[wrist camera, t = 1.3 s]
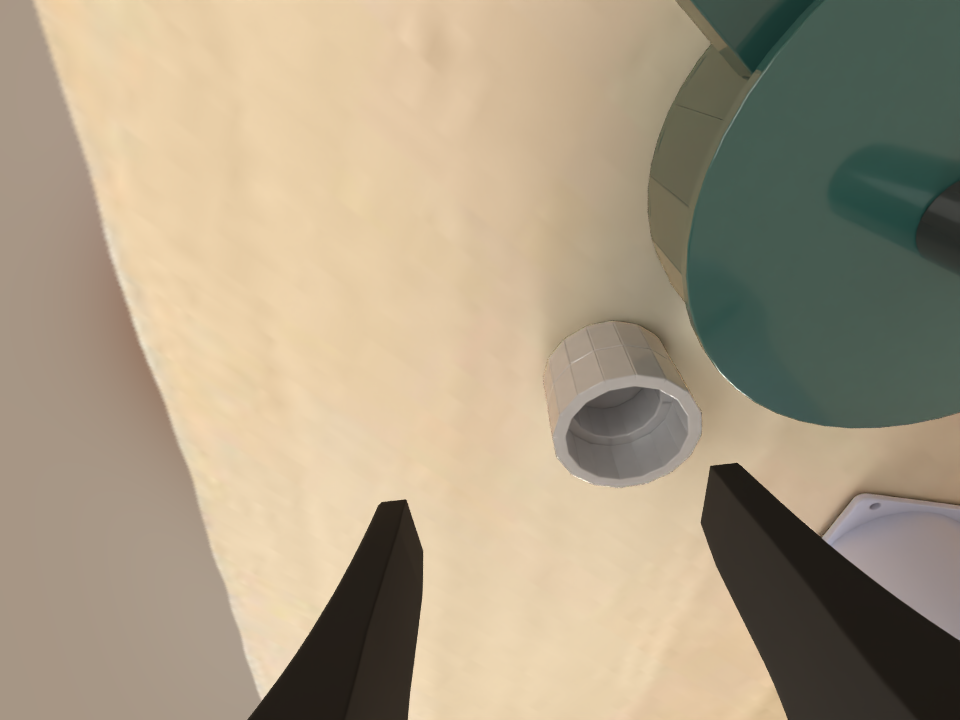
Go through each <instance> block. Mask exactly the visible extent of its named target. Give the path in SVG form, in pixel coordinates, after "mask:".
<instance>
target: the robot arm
mask: <svg viewBox="0 0 960 720" xmlns="http://www.w3.org/2000/svg"><path fill="white" fill-rule="evenodd" d="M701 525H702V528H703V530H704V533H705V536H706V539H707V542H708V545H709V548H710V550H711V553H712V556H713V558H714V561H715V564H716V566H717V568H718V570H719V572H720V575H721V577H722V579H723V581H724V583H725V585H726V587H727V589H728V591H729V593H730V595H731V597H732V599H733V601H734V603H735V605H736V607H737V609H738V611H739V613H740V615H741V617H742V619H743V621H744V623H745V625H746V627H747V629H748V631H749V633H750V635H751V637H752V639H753V641H754V643H755V645H756V647H757V649H758V651H759V653H760V655H761V657H762V659H763V661H764V663H765V665H766V668H767V670H768V672H769V674H770V676H771V679H772V681H773V683H774V685H775V688H776V690H777V693H778V695H779V698H780V700H781V703H782V705H783V708H784V711H785V713H786V716H787V718H788V720H960V505H953V504H945V503H937V502H930V501H922V500H914V499H907V498H899V497H891V496H884V495H876V494H869V493H862V494H859V495H857V496H855V497H854V498H853V499H852V501H851V502H850V503H849V504H848V506H847V507H846V508H845V509H844V511H843V512H842V513H841V514H840V516H839V517H838V518H837V519H836V520H835V522H834V523H833V524H832V525H831V527H830V528H829V529H828V530H827V532H826V533H825V534H824V535H823V537H822V538H821V537H820V536H819V535H817V534H816V533H815V532H814V531H813V530H812V529H810V528H809V527H808V526H807V525H806V524H805V523H803V522H802V521H801V520H800V519H799V518H798V517H797V516H795V515H794V514H793V513H792V512H791V511H790V510H789V509H788V508H786V507H785V506H784V505H783V504H782V503H781V502H780V501H779V500H778V499H776V498H775V497H774V496H773V495H772V494H771V493H770V492H769V491H768V490H767V489H766V488H764V487H763V486H762V485H761V484H760V483H759V482H758V481H757V480H756V479H755V478H754V477H753V476H752V475H750V474H749V473H748V472H747V471H746V470H745V469H744V468H743V467H742V466H741V465H739V464H738V463H732V464H723V465H714V466H710V472H709V477H708V483H707V489H706V495H705V501H704V507H703V512H702V518H701ZM422 591H423V549H422V546H421V543H420V540H419V537H418V534H417V531H416V528H415V525H414V522H413V519H412V516H411V513H410V510H409V506H408V503H407V500H397V501H388V502H381V503H380V504H379V505H378V507H377V510H376V512H375V514H374V516H373V518H372V521H371V523H370V525H369V527H368V529H367V531H366V533H365V535H364V537H363V539H362V541H361V543H360V545H359V547H358V549H357V551H356V553H355V555H354V557H353V559H352V561H351V563H350V565H349V567H348V568H347V570H346V572H345V574H344V576H343V578H342V579H341V581H340V583H339V585H338V587H337V589H336V590H335V592H334V594H333V596H332V597H331V599H330V601H329V602H328V604H327V605H326V607H325V609H324V610H323V612H322V614H321V615H320V617H319V619H318V620H317V622H316V624H315V625H314V627H313V629H312V630H311V632H310V633H309V635H308V636H307V638H306V639H305V641H304V643H303V644H302V646H301V647H300V649H299V650H298V652H297V653H296V655H295V656H294V657H293V659H292V660H291V662H290V663H289V665H288V666H287V667H286V669H285V670H284V672H283V673H282V675H281V676H280V677H279V679H278V680H277V681H276V683H275V684H274V685H273V687H272V688H271V689H270V691H269V692H268V693H267V695H266V696H265V697H264V699H263V700H262V701H261V703H260V704H259V705H258V707H257V708H256V709H255V711H254V712H253V713H252V715H251V716H250V717H249V718H248V720H408V710H409V699H410V689H411V682H412V674H413V666H414V658H415V650H416V643H417V635H418V627H419V619H420V611H421V602H422Z"/></svg>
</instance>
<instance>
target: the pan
mask: <svg viewBox="0 0 960 720" xmlns="http://www.w3.org/2000/svg"><path fill="white" fill-rule="evenodd" d="M675 1H676V2H677V3H678V4H679V5H680V7H681V8H682V9H683V10H684V11H685V12H686V14H687V15H688V16H689V17H690V18H691V20H692V21H693V22H694V23H695V24H696V26H697V27H698V28H699V29H700V30H701V32H702V33H703V34H704V35H705V36H706V37H707V39H708V40H709V41H710V42H711V43H712V44H711V45H710V47H709V48H708V49H707V50H706V52H705V53H704V54H703V55H702V56H701V58H700V59H699V60H698V62H697V63H696V65H695V66H694V68H693V70H692V71H691V73H690V74H689V76H688V77H687V79H686V80H685V82H684V83H683V85H682V87H681V88H680V90H679V92H678V94H677V96H676V98H675V100H674V102H673V104H672V106H671V108H670V110H669V112H668V114H667V117H666V119H665V122H664V124H663V127H662V130H661V132H660V135H659V137H658V140H657V144H656V148H655V152H654V156H653V160H652V163H651V170H650V177H649V184H648V217H649V225H650V233H651V237H652V241H653V243H654V247H655V250H656V253H657V255H658V258H659V260H660V262H661V264H662V266H663V268H664V270H665V272H666V274H667V276H668V278H669V281H670V283H671V285H672V286H673V288H674V289H675V290H676V292H677V293H678V294H679V296H680V297H681V298H682V300H683V301H684V302H685V300H684V293H683V283H682V274H681V265H682V243H683V235H684V230H685V224H686V219H687V213H688V208H689V204H690V201H691V197H692V194H693V191H694V188H695V185H696V181H697V178H698V175H699V172H700V169H701V167H702V164H703V162H704V160H705V158H706V155H707V153H708V151H709V149H710V146H711V144H712V142H713V140H714V137H715V135H716V133H717V131H718V129H719V127H720V126H721V124H722V122H723V120H724V119H725V117H726V115H727V113H728V112H729V110H730V108H731V107H732V105H733V103H734V101H735V100H736V98H737V96H738V94H739V93H740V91H741V90H742V88H743V87H744V86H745V84H746V83H747V81H748V80H749V79H750V77H751V76H752V74H753V73H754V72H755V70H756V69H757V67H758V66H759V65H760V63H761V62H762V60H763V59H764V58H765V56H766V55H767V53H768V52H769V51H770V50H771V49H772V47H773V46H774V45H775V44H776V43H777V42H778V40H779V39H780V38H781V37H782V36H783V35H784V34H785V32H786V31H787V30H788V29H789V28H790V27H791V26H792V24H793V23H794V22H795V21H796V20H797V19H798V17H799V16H800V15H801V14H802V13H803V12H804V11H805V10H806V9H807V8H808V7H809V6H810V5H811V4H812V3H813V2H814V1H815V0H675Z"/></svg>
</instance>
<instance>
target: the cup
mask: <svg viewBox="0 0 960 720" xmlns="http://www.w3.org/2000/svg"><path fill="white" fill-rule="evenodd" d="M543 382H544V388H545V394H546V401H547V406H548V413H549V420H550V426H551V432H552V438H553V443H554V448H555V453H556V456H557V458H558V460H559V461H560V462H561V463H562V464H563V465H564V467H565V468H566V469H567V470H568V471H569V472H570V474H572V475H574V476H576V477H578V478H580V479H582V480H584V481H586V482H588V483H590V484H593V485H598V486H606V487H614V488H618V487H619V488H623V487H629V486H636V485H643V484H645V483H649V482H651V481H654V480H656V479H658V478H660V477H663V476H665V475H667V474H669V473H670V472H673V471H674V470H675V469H676V468H677V467H678V466H679V465H681V464H682V463H683V462H684V461H685V460H686V459H687V458H689V457H690V455H691V454H692V452H693V450H694V448H695V446H696V444H697V442H698V441H699V439H700V437H701V434H702V412H701V410H700V408H699V406H698V404H697V403H696V401H695V399H694V397H693V396H692V394H691V392H690V390H689V389H688V387H687V385H686V383H685V382H684V380H683V378H682V376H681V375H680V373H679V371H678V370H677V368H676V366H675V364H674V363H673V361H672V359H671V357H670V356H669V354H668V352H667V351H666V349H665V347H664V346H663V344H662V343H661V341H660V339H659V338H658V337H657V336H656V335H655V334H653V333H651V332H650V331H648V330H646V329H645V328H643V327H641V326H640V325H637V324H632V323H625V322H619V321H607V322H602V323H597V324H592V325H587V326H586V327H583V328H582V329H580V330H578V331H576V332H575V333H573V334H571V335H570V336H568V337H566V338H565V339H564V340H562V342H561V343H560V344H559V345H558V346H557V348H556V349H555V350H554V351H553V353H552V354H551V355H550V356H549V358H548V361H547V364H546V368H545V372H544V375H543Z"/></svg>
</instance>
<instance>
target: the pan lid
mask: <svg viewBox="0 0 960 720" xmlns="http://www.w3.org/2000/svg"><path fill="white" fill-rule="evenodd" d="M681 274H682V283H683V293H684V300H685V304H686V308H687V312H688V315H689V319H690V323H691V325H692V328H693V330H694V332H695V334H696V336H697V339H698V341H699V343H700V345H701V347H702V348H703V350H704V351H705V353H706V354H707V356H708V357H709V358H710V360H711V361H712V363H713V364H714V366H715V367H716V369H717V370H718V371H719V373H720V374H721V375H722V376H723V377H724V378H725V379H726V380H727V381H728V382H729V383H730V384H731V385H732V386H733V387H734V388H735V389H737V390H738V391H739V392H741V393H742V394H744V395H745V396H746V397H748V398H749V399H751V400H752V401H753V402H755V403H757V404H759V405H761V406H763V407H765V408H767V409H769V410H771V411H773V412H775V413H777V414H780V415H783V416H786V417H789V418H792V419H795V420H798V421H802V422H807V423H812V424H817V425H822V426H830V427H842V428H881V427H890V426H899V425H908V424H913V423H918V422H923V421H928V420H933V419H938V418H942V417H946V416H950V415H953V414H957V413H960V0H815V1H814V2H813V3H812V4H811V5H810V6H809V7H808V8H807V9H806V10H805V11H804V12H803V13H802V14H801V15H800V16H799V17H798V19H797V20H796V21H795V22H794V23H793V24H792V26H791V27H790V28H789V29H788V30H787V31H786V32H785V34H784V35H783V36H782V37H781V38H780V39H779V40H778V42H777V43H776V44H775V45H774V46H773V47H772V49H771V50H770V51H769V52H768V53H767V55H766V56H765V58H764V59H763V60H762V62H761V63H760V65H759V66H758V67H757V69H756V70H755V72H754V73H753V74H752V76H751V77H750V79H749V80H748V81H747V83H746V84H745V86H744V87H743V88H742V90H741V91H740V93H739V94H738V96H737V98H736V100H735V101H734V103H733V105H732V107H731V108H730V110H729V112H728V113H727V115H726V117H725V119H724V120H723V122H722V124H721V126H720V127H719V129H718V131H717V133H716V135H715V137H714V140H713V142H712V144H711V146H710V149H709V151H708V153H707V155H706V158H705V160H704V162H703V164H702V167H701V169H700V172H699V175H698V178H697V181H696V185H695V188H694V191H693V194H692V197H691V201H690V204H689V208H688V213H687V219H686V224H685V230H684V235H683V243H682V265H681Z"/></svg>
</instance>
